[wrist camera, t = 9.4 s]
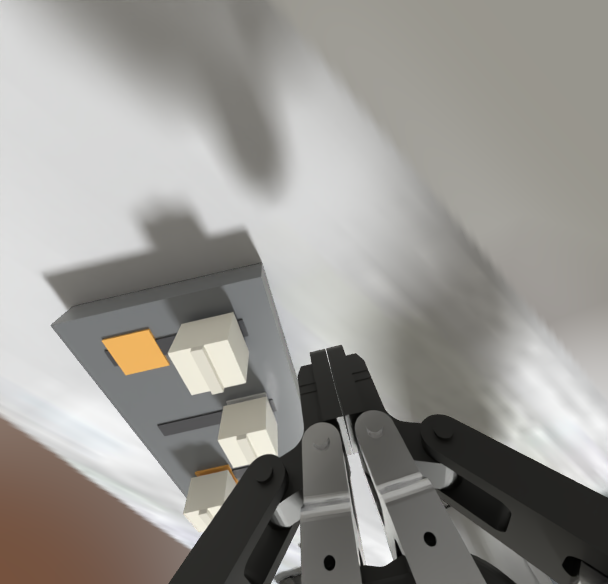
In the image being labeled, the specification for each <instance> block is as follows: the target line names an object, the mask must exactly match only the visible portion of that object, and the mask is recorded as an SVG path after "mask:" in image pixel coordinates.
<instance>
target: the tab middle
mask: <svg viewBox="0 0 608 584" xmlns="http://www.w3.org/2000/svg"><path fill="white" fill-rule="evenodd" d="M218 442H219V444H220V445H221V447H222V449H223V451H224V452H225V454H226V456H227V458H228V459H229V461H230V463H231V465H232V466H233V468H235V467H240V466H244V465H248V464H249V465H250V464H251V463H252V462H253V461H254V460H255V459H256V458H258V457H260V456H262V455H265V454H273V455H276V456H278V432H277V422H276V420H275V417H274V414H273V412H272V409H271V407H270V404H269V402H268V399H267V397H262V398H258V399H253V400H249V401H244V402H240V403H235V404H231V405H227V406H223V412H222V417H221V423H220V429H219V434H218Z"/></svg>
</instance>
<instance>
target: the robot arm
mask: <svg viewBox="0 0 608 584" xmlns="http://www.w3.org/2000/svg"><path fill="white" fill-rule="evenodd" d="M326 350H327V354H328V358H329V362H328V358H327V354H326V351H325V349H322V350H318V351H314V352H310V357H311V362H312V364H310V365H306V366H302V367H301V368H300V371H299V374H298V384H299V392H300V400H301V408H302V416H303V424H304V432H303V436H302V438H301V440H300V442H299V443H298V444H297V446H296V447H295V448H293V449H292V450H291V451H289V452H287V453H286V454H284V455H282V456H281V457H278V456H276V455H273V454H265V455H262V456H260V457H258V458H256V459H255V460H254V461H253V462H252V463H251V464H250V465H249V467H248V468H247V470H246V471H245V473H244V474H243V476H242V477H241V479H240V480H239V481H238V483H237V484H236V486H235V487H234V489H233V490H232V492H231V493H230V495H229V496H228V497H227V499H226V500H225V502H224V503H223V505H222V506H221V508H220V509H219V511H218V512H217V514H216V515H215V516H214V518H213V519H212V521H211V522H210V524H209V525H208V527H207V528H206V530H205V531H204V533H203V534H202V535H201V537H200V538H199V540H198V541H197V543H196V544H195V546H194V547H193V549H192V550H191V551H190V553H189V555H188V556H187V557H186V559H185V560H184V562H183V563H182V565H181V566H180V568H179V569H178V571H177V572H176V574H175V575H174V576H173V578H172V579H171V581H170V582H169V584H271V582H272V580H273V578H274V576H275V574H276V572H277V570H278V568H279V566H280V564H281V561H282V559H283V557H284V555H285V553H286V551H287V549H288V547H289V545H290V543H291V541H292V539H293V537H294V535H295V533H296V531H297V529H298V527H299V524H300V537H301V582H302V584H552V582H551V580H550V579H549V577H550V578H551V579H553V580H554V581H556V582H557V583H558V584H608V498H607V497H605V496H603V495H601V494H599V493H597V492H595V491H593V490H591V489H589V488H587V487H585V486H584V485H582V484H580V483H578V482H576V481H574V480H572V479H570V478H568V477H566V476H564V475H562V474H560V473H558V472H556V471H554V470H552V469H550V468H549V467H547V466H545V465H543V464H541V463H539V462H537V461H535V460H533V459H531V458H529V457H527V456H525V455H523V454H521V453H519V452H517V451H515V450H513V449H512V448H510V447H508V446H506V445H504V444H502V443H500V442H498V441H496V440H494V439H492V438H490V437H488V436H486V435H484V434H482V433H480V432H478V431H477V430H475V429H473V428H471V427H469V426H467V425H465V424H463V423H461V422H459V421H457V420H455V419H453V418H451V417H449V416H446V415H438V414H437V415H431V416H429V417H427V418H426V419H424V421H423V422H422V423H410V422H403V421H399V420H397V419H395V418H393V417H392V416H391V415H389V414H388V413H387V411H386V410H385V408H384V406H383V404H382V402H381V399H380V397H379V395H378V392H377V390H376V387H375V385H374V383H373V380H372V379H371V376H370V373H369V371H368V369H367V366H366V364H365V362H364V360H363V359H362V358H361V357H360V356H358V355H357V354H356V353H355V354H351V355H347V356H346V355H345V352H344V350H343V347H342V345H339V346H334V347H330V348H326ZM329 363H330V366H329ZM330 367H331V369H330ZM331 372H332V373H331ZM332 376H333V377H332ZM333 380H334V381H333ZM336 391H337V392H336ZM337 395H338V396H337ZM339 402H340V403H339ZM340 406H341V407H340ZM341 410H342V411H341ZM343 417H344V419H343ZM344 421H345V423H344ZM345 425H346V427H345ZM346 429H347V432H348V436H349V440H350V444H351V447H352V451H353V454H354V453H359V456H360V460H361V463H362V467H363V472H364V476H365V478H366V481H367V484H368V487H369V490H370V492H371V495H372V498H373V501H374V503H375V506H376V509H377V512H378V515H379V517H380V520H381V523H382V526H383V529H384V532H385V535H386V538H387V542H388V545H389V548H390V551H391V554H392V557H393V560H394V561H392V562H391V563H389V564H388V565H386V566H384V567H376V566H367V565H366V563H365V558H364V552H363V547H362V542H361V537H360V531H359V526H358V520H357V514H356V508H355V502H354V496H353V490H352V484H351V478H350V476H351V471H350V466H349V462H348V458H347V455H351V450H350V445H349V441H348V436H347V432H346ZM441 499H442V500H443V501H444V502H446V503H447V504H449V505H450V506H451V507H449V508H447V509H446V508H445V507H444V505H443V503H442V501H441ZM548 576H549V577H548Z"/></svg>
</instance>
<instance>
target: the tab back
mask: <svg viewBox="0 0 608 584" xmlns="http://www.w3.org/2000/svg"><path fill="white" fill-rule="evenodd" d="M235 486H236V482H235V481H234V479H233V477H232V476H231V474H230V472H229V471H228V470H225V471H220V472H216V473H211V474H207V475H202V476H198V477H193V478H191V482H190V486H189V491H188V495H187V499H186V504H185V508H184V512H183V514H184V516H185V517H186V518H187V519H188V520H189V521H190V523H191V524H192V525H193V526H194V527H195V529H196V530H197V531H198V532H203V531H205V530H206V528H207V527H208V525H209V524H210V522H211V521H212V519H213V518H214V516H215V515H216V514H217V512H218V511H219V509H220V508H221V506H222V505H223V503H224V502H225V500H226V499H227V497H228V496H229V495H230V493H231V492H232V490H233V489H234V487H235Z"/></svg>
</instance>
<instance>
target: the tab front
mask: <svg viewBox="0 0 608 584" xmlns="http://www.w3.org/2000/svg"><path fill="white" fill-rule="evenodd" d="M168 355H169V357H170V358H171V360H172V362H173V364H174V365H175V367H176V369H177V371H178V372H179V374H180V376H181V378H182V379H183V381H184V383H185V385H186V386H187V388H188V390H189V392H190V393H191V395H195V394H199V393H204V392H208V391H211V393H212V395H213V394H218V393H222V392H224V388H226V387H230V386H235V385H239V384H243V383H246V379H247V369H248V359H249V350H248V348H247V345H246V343H245V340H244V338H243V335H242V333H241V330H240V327H239V325H238V322H237V320H236V317H235V315H234V312H232V313H227V314H223V315H218V316H214V317H210V318H205V319H201V320H197V321H192V322H188V323H184V324H181V326H180V328H179V330H178V333H177V335H176V337H175V339H174V341H173V343H172V345H171V347H170V349H169V351H168Z"/></svg>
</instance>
